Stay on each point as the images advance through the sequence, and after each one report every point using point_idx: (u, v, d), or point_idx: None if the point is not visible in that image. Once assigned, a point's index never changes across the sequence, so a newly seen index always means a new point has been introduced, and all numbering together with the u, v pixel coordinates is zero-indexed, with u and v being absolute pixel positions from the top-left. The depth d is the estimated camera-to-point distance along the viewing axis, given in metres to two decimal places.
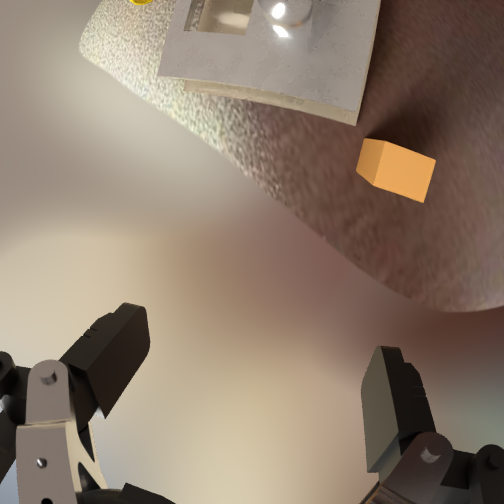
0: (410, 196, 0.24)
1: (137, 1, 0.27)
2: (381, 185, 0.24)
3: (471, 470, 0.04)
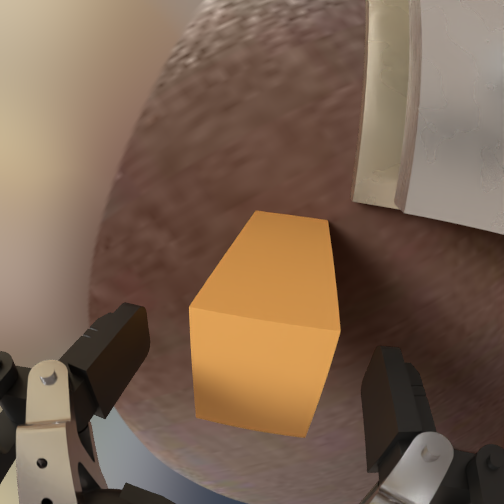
0: (198, 395, 0.09)
1: None
2: (197, 329, 0.08)
3: (472, 470, 0.04)
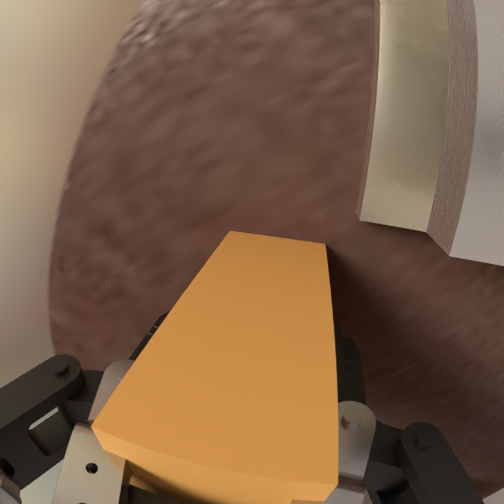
0: None
1: None
2: (112, 451, 0.04)
3: (401, 452, 0.05)
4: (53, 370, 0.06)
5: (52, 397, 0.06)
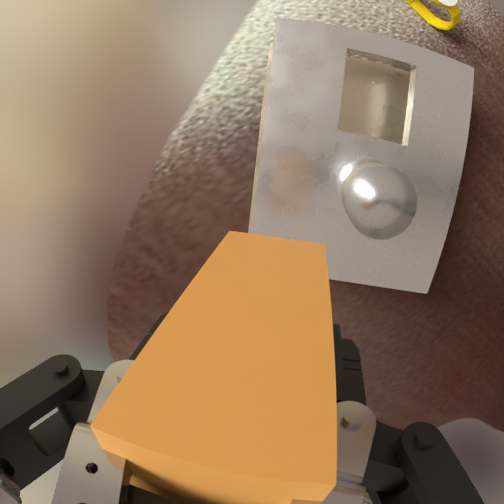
0: None
1: None
2: (112, 451, 0.04)
3: (401, 452, 0.05)
4: (53, 370, 0.06)
5: (52, 397, 0.06)
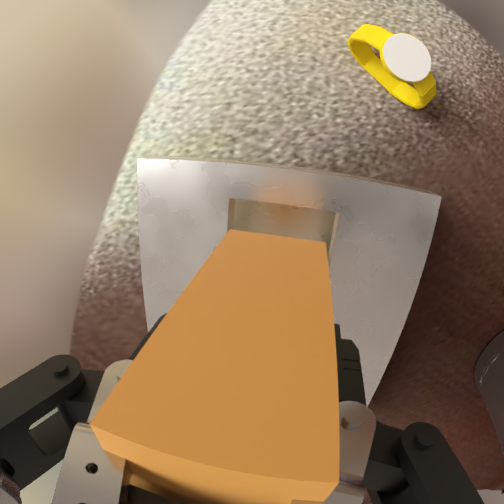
0: None
1: (355, 43, 0.15)
2: (111, 450, 0.04)
3: (401, 452, 0.05)
4: (53, 370, 0.06)
5: (52, 397, 0.06)
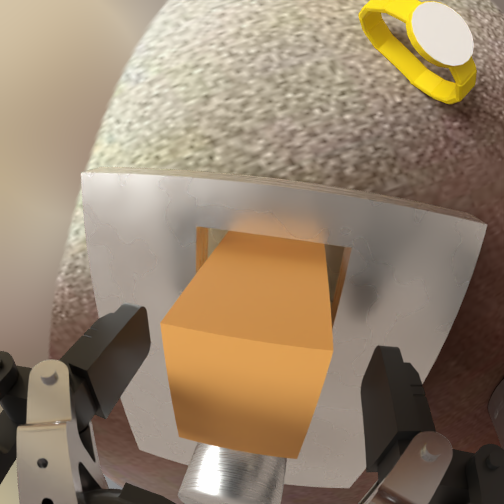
0: (178, 415, 0.08)
1: (369, 17, 0.10)
2: (171, 347, 0.07)
3: (471, 470, 0.04)
4: None
5: None
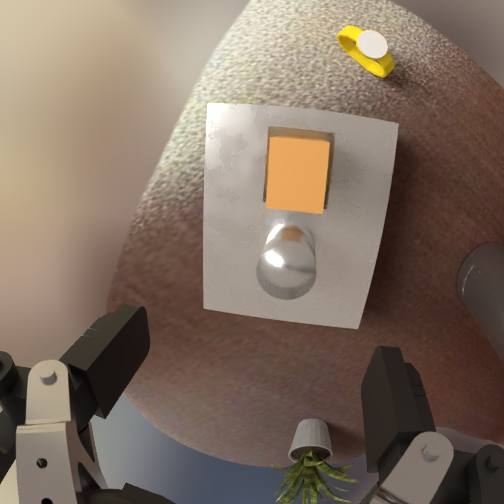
0: (269, 189, 0.21)
1: (342, 37, 0.23)
2: (272, 147, 0.20)
3: (472, 470, 0.04)
4: None
5: None
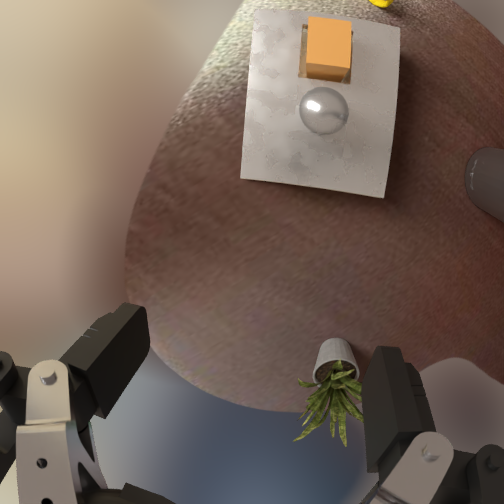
0: (308, 49, 0.23)
1: None
2: (310, 22, 0.22)
3: (471, 470, 0.04)
4: None
5: None
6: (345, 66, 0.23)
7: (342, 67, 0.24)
